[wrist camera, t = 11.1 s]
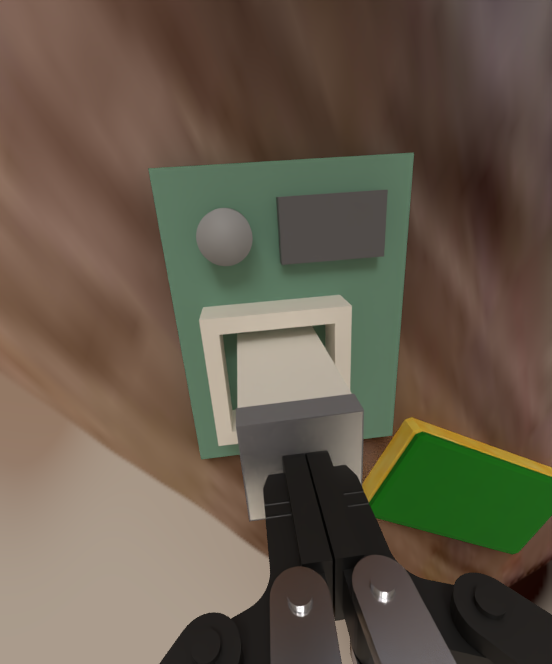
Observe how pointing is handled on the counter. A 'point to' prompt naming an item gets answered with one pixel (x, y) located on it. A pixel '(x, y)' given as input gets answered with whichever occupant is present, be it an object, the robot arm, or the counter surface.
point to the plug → (291, 407)
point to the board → (286, 272)
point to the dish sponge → (459, 488)
